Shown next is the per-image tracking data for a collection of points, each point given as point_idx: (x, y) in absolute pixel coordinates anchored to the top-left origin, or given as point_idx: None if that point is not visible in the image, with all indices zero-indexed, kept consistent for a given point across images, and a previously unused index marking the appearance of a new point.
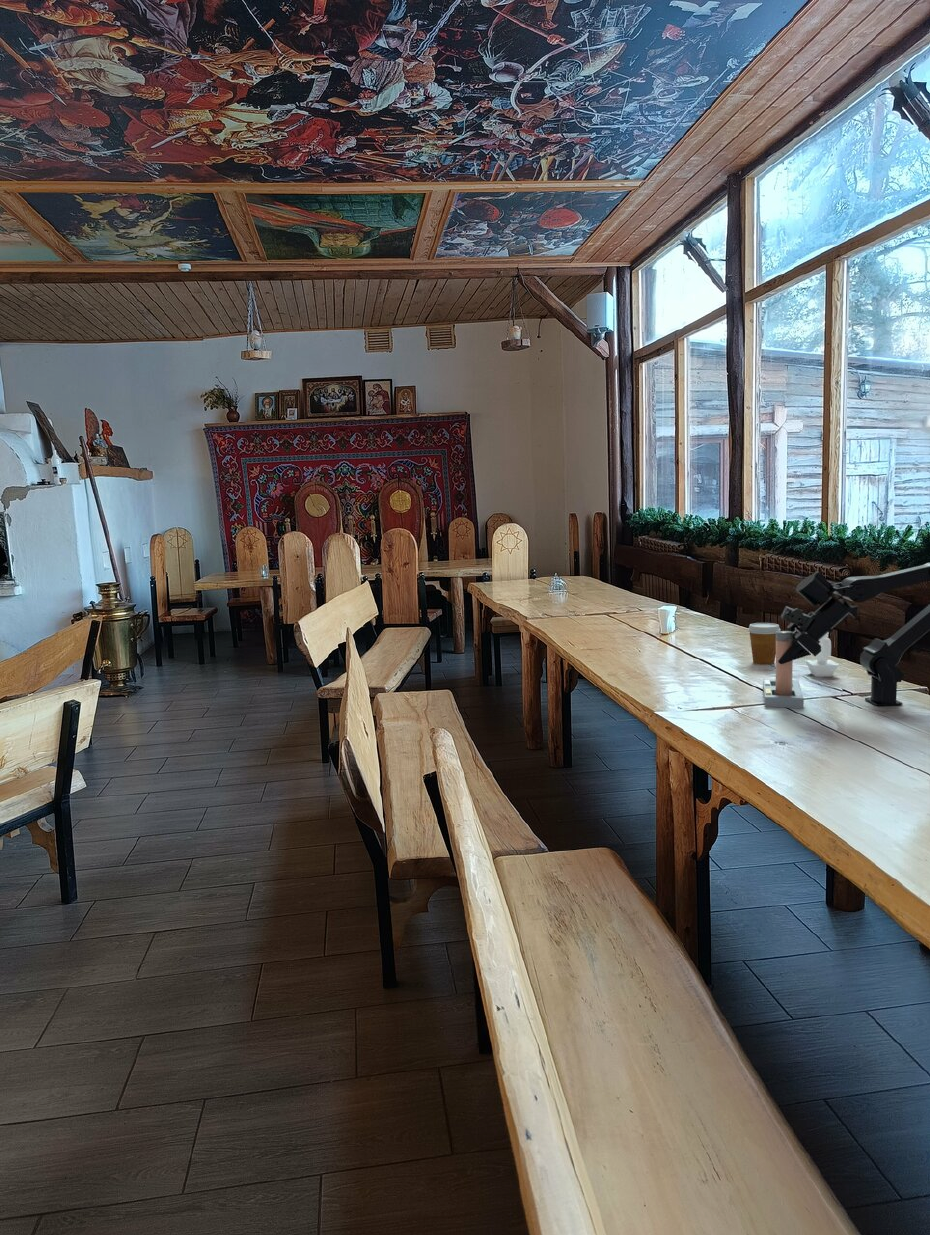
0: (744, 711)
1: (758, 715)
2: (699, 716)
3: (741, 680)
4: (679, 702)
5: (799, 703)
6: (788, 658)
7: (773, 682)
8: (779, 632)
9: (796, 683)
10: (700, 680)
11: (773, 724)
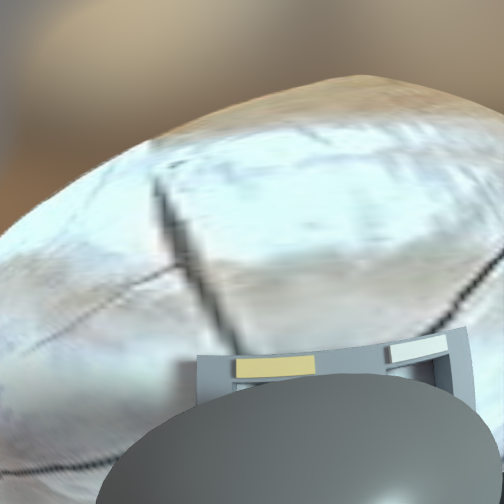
0: (146, 299)
1: (110, 334)
2: (109, 207)
3: (491, 267)
4: (224, 157)
5: None
6: None
7: (448, 364)
8: (292, 479)
9: None
10: (445, 183)
11: (48, 359)
